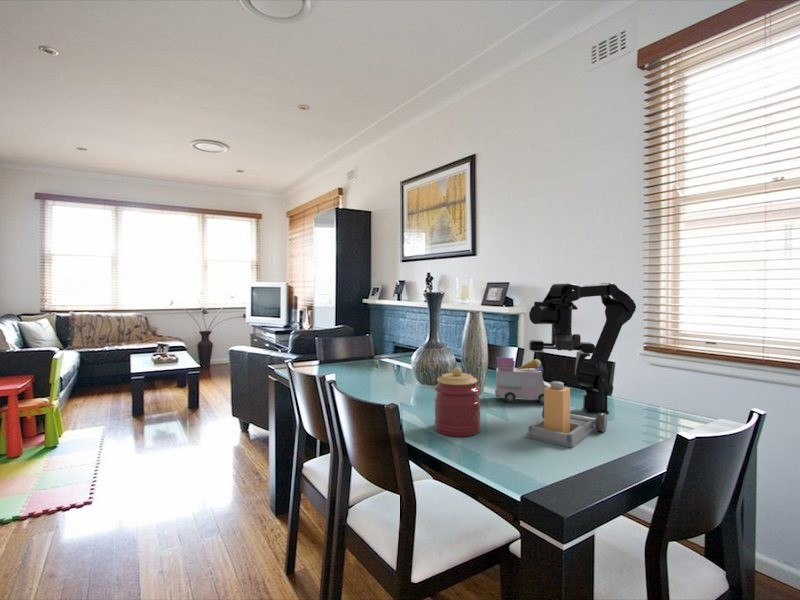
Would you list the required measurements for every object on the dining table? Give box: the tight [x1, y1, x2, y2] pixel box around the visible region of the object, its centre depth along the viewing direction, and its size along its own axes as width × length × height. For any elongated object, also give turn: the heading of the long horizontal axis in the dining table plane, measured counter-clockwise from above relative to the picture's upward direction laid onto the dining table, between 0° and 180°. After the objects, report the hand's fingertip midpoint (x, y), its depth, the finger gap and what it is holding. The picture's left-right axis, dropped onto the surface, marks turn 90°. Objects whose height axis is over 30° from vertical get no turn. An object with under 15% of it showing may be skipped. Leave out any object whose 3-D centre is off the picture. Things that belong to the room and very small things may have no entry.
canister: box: [433, 366, 482, 438], centre depth 120 cm, size 13×13×18 cm
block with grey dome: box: [543, 380, 571, 434], centre depth 114 cm, size 5×5×14 cm
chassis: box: [526, 406, 608, 449], centre depth 118 cm, size 22×17×5 cm
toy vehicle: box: [494, 356, 551, 405], centre depth 151 cm, size 9×20×15 cm, turn 78°
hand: (560, 374), depth 132 cm, fingers open, 9 cm apart
